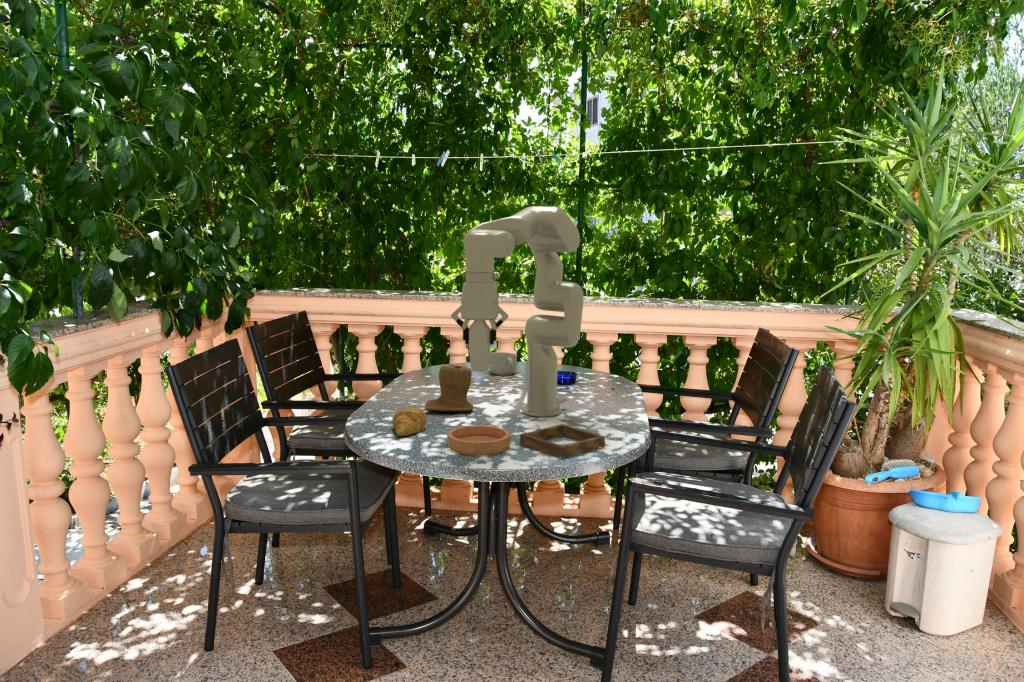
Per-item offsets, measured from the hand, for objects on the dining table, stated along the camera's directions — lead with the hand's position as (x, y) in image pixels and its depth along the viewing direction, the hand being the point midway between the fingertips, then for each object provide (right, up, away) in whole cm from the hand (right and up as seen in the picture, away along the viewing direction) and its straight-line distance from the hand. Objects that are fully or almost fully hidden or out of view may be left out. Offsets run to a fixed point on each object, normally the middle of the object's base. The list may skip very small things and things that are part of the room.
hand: (479, 342), depth 238 cm
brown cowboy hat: (-11, -22, +43) cm, 50 cm away
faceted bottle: (0, -8, +1) cm, 8 cm away
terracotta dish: (0, -29, +5) cm, 29 cm away
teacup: (+6, -13, +97) cm, 98 cm away
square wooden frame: (+23, -29, +6) cm, 37 cm away
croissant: (-22, -26, +21) cm, 40 cm away
